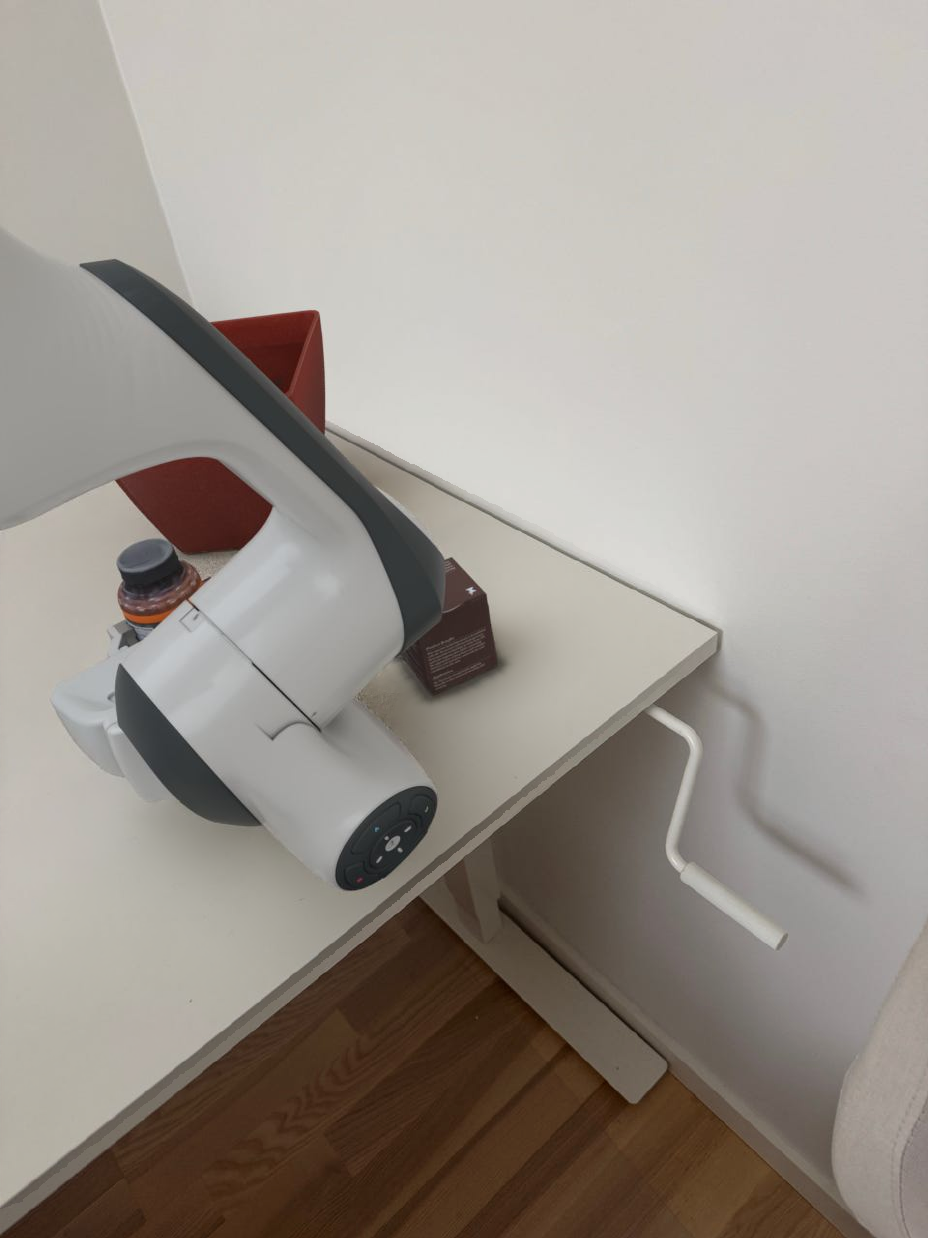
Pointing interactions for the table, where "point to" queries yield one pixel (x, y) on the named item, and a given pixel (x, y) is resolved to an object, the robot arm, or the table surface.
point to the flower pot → (205, 488)
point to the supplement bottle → (153, 584)
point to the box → (455, 636)
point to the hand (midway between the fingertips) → (164, 608)
